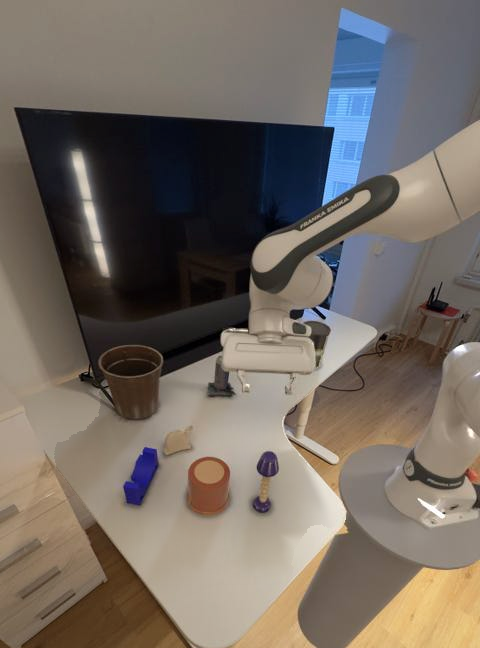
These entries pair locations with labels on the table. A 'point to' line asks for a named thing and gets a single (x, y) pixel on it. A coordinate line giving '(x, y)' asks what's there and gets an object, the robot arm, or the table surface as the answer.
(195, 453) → the table surface
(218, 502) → the cup
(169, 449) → the decorative ornament
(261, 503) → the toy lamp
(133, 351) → the plant pot
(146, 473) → the blue notched block
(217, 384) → the post on square base
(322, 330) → the coffee can
